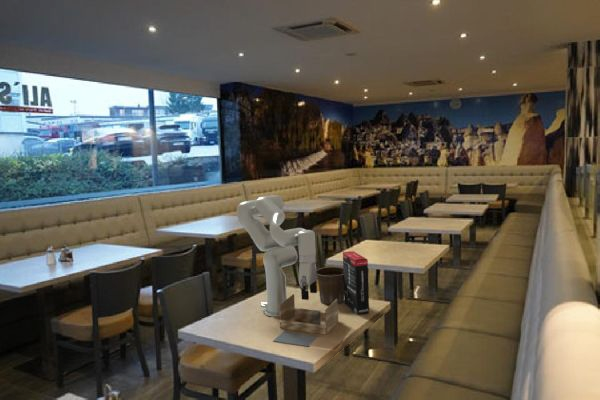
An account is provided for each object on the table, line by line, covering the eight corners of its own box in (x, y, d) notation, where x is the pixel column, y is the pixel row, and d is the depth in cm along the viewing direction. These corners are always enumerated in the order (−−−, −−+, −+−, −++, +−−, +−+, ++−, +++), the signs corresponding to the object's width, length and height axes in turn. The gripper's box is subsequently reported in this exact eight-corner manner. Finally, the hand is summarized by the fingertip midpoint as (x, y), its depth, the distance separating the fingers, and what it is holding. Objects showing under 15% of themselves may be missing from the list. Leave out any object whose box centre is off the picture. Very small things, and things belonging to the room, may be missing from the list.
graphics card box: (370, 314, 216) (369, 257, 212) (356, 316, 214) (355, 259, 211) (355, 302, 232) (354, 250, 229) (343, 304, 230) (341, 251, 227)
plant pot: (335, 309, 224) (334, 277, 222) (309, 302, 234) (308, 272, 232) (353, 300, 236) (353, 269, 234) (328, 294, 247) (328, 265, 245)
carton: (278, 330, 201) (277, 305, 200) (295, 315, 217) (294, 293, 216) (325, 336, 192) (324, 311, 191) (339, 321, 209) (338, 297, 207)
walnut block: (295, 325, 205) (295, 312, 204) (300, 321, 209) (299, 308, 209) (316, 328, 201) (316, 314, 200) (320, 323, 205) (320, 310, 205)
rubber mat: (273, 341, 189) (273, 340, 189) (283, 332, 198) (283, 331, 198) (308, 347, 183) (308, 346, 183) (317, 337, 192) (317, 336, 192)
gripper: (307, 253, 210) (309, 289, 212) (291, 262, 195) (293, 301, 196) (322, 254, 207) (324, 291, 209) (307, 263, 192) (310, 303, 193)
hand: (309, 296), depth 203 cm, fingers open, 9 cm apart
